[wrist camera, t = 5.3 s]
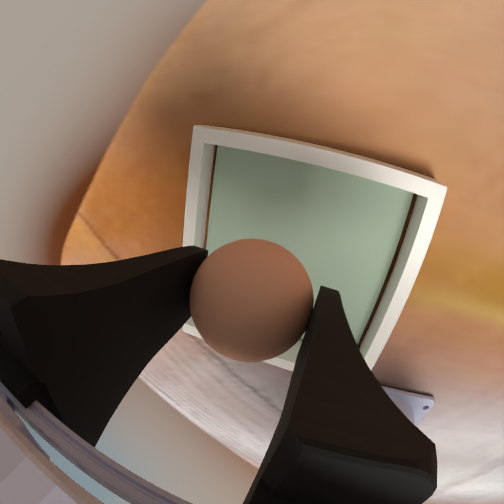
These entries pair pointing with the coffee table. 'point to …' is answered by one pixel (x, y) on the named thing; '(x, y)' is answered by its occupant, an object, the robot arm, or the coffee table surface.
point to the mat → (312, 222)
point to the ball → (251, 300)
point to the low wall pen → (423, 186)
